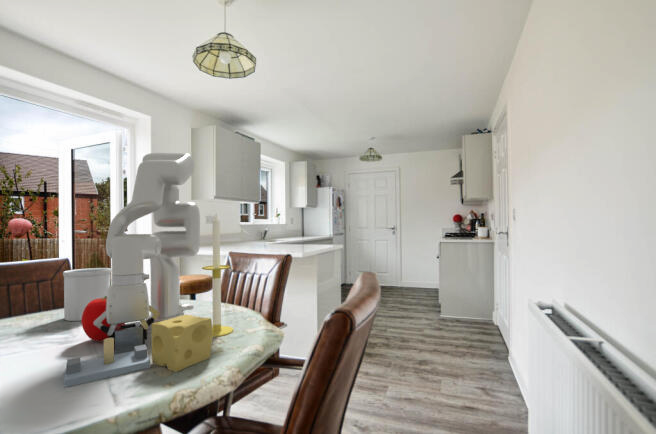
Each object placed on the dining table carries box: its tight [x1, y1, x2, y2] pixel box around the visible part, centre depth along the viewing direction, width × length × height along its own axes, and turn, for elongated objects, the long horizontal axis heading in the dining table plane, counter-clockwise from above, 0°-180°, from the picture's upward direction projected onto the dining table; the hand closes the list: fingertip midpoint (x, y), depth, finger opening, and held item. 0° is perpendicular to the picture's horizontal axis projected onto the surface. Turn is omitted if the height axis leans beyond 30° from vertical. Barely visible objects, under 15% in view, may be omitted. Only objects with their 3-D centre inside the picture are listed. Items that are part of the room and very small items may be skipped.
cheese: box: [151, 314, 213, 373], centre depth 84 cm, size 10×11×10 cm
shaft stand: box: [63, 338, 151, 388], centre depth 79 cm, size 16×10×7 cm, turn 126°
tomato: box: [81, 296, 126, 342], centre depth 100 cm, size 11×11×13 cm
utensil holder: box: [62, 267, 112, 322], centre depth 127 cm, size 15×15×18 cm
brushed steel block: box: [114, 321, 144, 355], centre depth 92 cm, size 6×6×6 cm
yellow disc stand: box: [201, 214, 234, 338], centre depth 106 cm, size 10×10×38 cm
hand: (128, 345), depth 92 cm, fingers closed on brushed steel block, 6 cm apart
